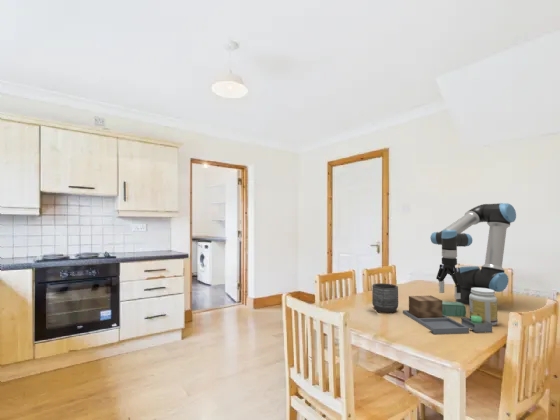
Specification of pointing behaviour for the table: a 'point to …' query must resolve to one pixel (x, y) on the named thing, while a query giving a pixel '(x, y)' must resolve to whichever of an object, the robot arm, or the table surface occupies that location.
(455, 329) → the grey divided tray
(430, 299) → the walnut block
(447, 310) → the box
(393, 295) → the planter
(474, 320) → the button
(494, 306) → the supplement tub
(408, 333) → the table surface
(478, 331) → the square metal sleeve
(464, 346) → the table surface
